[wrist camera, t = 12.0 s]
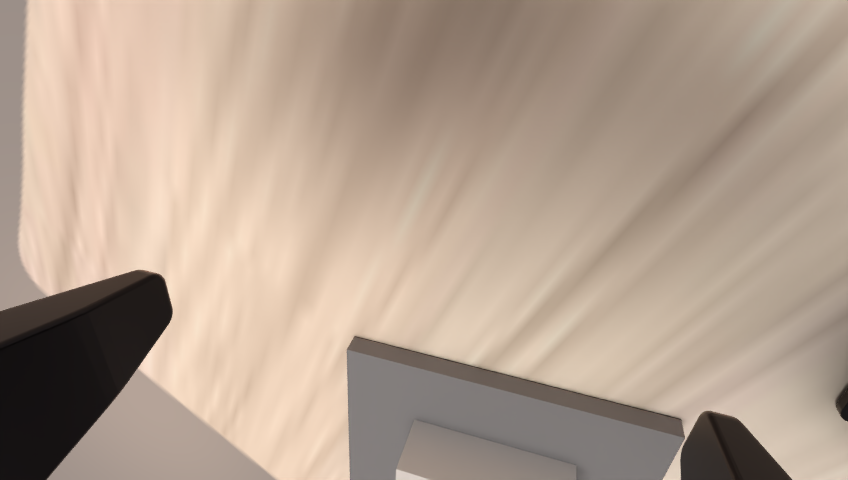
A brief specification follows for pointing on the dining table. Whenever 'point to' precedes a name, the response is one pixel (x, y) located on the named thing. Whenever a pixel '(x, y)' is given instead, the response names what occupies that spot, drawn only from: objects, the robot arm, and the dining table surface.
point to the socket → (490, 425)
